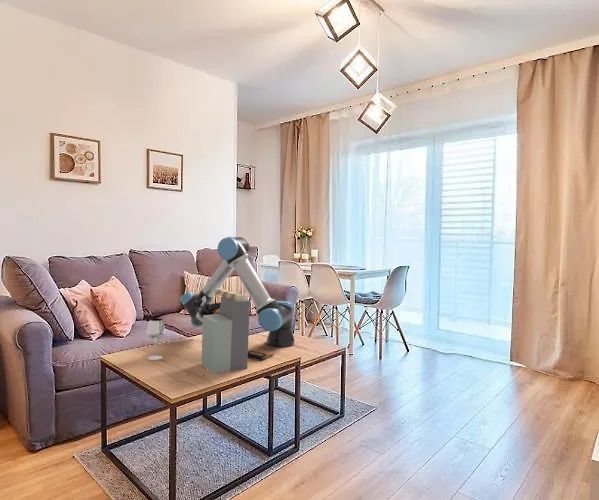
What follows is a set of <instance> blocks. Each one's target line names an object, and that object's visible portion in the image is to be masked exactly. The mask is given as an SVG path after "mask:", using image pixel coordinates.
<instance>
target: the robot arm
mask: <svg viewBox="0 0 599 500" xmlns="http://www.w3.org/2000/svg"><path fill="white" fill-rule="evenodd" d="M216 249H217V254H218V256H219V258H220V259H222V260H223V261H222V262H221V263H220V264H219V266H218V267H217V269H216V270H215V271H214V273H213V274H212V275H211V276H210V278H209V279H208V281H207V283H205V285H204V286H203V287H202V289H201V290H200V291H199V293H196V294H194V292H192V291H188V292H186V293H184V294H182V295H181V296H180V298H179V299H180V302H181V303H182V305H183V308H185V310H186V312H187V313H188V315H189V317H190V318H191V319H190V323H191V325H192V326H193V327H195V328H202V327H203V315H215V312H216V311H218V310H219V312H220V302H215V303H212V302H213V298H214V296H215V295H216V294H214V291H215V288H221V287H222V286H223V284H224V283H225V282H226V281H227V279H228V278H229V277H230V275H231V274H232V273H233V271H235V272H236V274H237V275H238V278H239V280H240V282H241V283H242V284H243V286H244V288H245V290H246V291H247V293H248V295H249V297H250V298H251V300H252V301H253V303H254V305H255V307H256V308H255V313H256V314H257V316H258V317H257V320H258V321H257V322H258V325H259V326H260V328H262V329H263V330H265V331H267V332H268V334H267V338H266V345H269V346H272V347H279V348H285V347H287V348H288V347H291V346H294V345H295V337H294V333H293V330H292V329H293V310H294V307H293V302H291V301H285V300H283V301H282V300H276V299H275V298H272V297H271V296H270V294H269V292H268V291H267V289H266V288H265V286H264V284H263V282H262V281H261V279H260V277H259V276H258V274H257V273H256V271H255V269H254V267H253V266H252V264H251V262H250V260H249V252H250V244H249V242H248V240H247V239H246V238H245V237H241V236H227V237H223V238H222V239H220V241H219V242H218V244H217V248H216Z"/></svg>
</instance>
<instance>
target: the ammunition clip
mask: <svg viewBox="0 0 599 500" xmlns="http://www.w3.org/2000/svg"><path fill="white" fill-rule="evenodd" d="M274 354H275V352H271V351H267V350H263V349H253V350H248V358H249V359H253V360H257V361H264V360H267V359H268V358H270V357H272V356H273V355H274Z"/></svg>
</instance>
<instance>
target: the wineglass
mask: <svg viewBox="0 0 599 500" xmlns="http://www.w3.org/2000/svg"><path fill="white" fill-rule="evenodd" d="M146 335H147V337H148V339H150V340H152V342H153V343H154V352H153V353H154V355H150V356H149V357H147V360H149V361H159V360H162V359H163V356H162V355H157V345H158V342H159V340H161V339H162V338H163V337H164V336H165V335H166V327H165V323H164V319H163V318H160V317H159V318H157V317H155V318H154V317H153V318H150V319H149V321H148V325H147V327H146Z"/></svg>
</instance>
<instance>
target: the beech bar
mask: <svg viewBox="0 0 599 500" xmlns="http://www.w3.org/2000/svg"><path fill="white" fill-rule="evenodd" d="M214 294H215V295H217V296H220V297H226V298H229V299H232V300H235V301H243V298H244V294H241V293H238V292H235V291H231V290H227V289H225V288H221V287H220V288H215V291H214Z"/></svg>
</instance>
